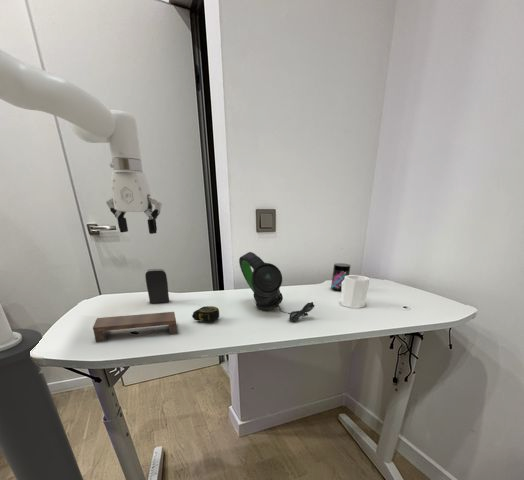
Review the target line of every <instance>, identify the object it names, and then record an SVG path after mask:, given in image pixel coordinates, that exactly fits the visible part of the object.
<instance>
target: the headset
mask: <svg viewBox="0 0 524 480" xmlns="http://www.w3.org/2000/svg"><path fill="white" fill-rule="evenodd" d="M238 265H239V268H240V271H241V273H242V276H243V277H244V279H245V282H246V283H247V285H248V286H249V288H250V290H251V291H252V292H253V295H252V296H253V299H254V302H255V306H256V308H257V309H258V310H260V311H269V310H272V309H274V308H275V309H277V308H278V309H279V312H280V313H283V314H287V315H289V317H288V321H290V322H297V321H298V320H299V319H300V318H303V317H308V316H309V314H308V313H309V312H311V311H312V310H313V309H314V308H315V304H314V302H313V301H311V302H307V303H306V304H305V305H304V306H303V307H302V309H300V310H294V311H291V312H287V311H283V310H281V307H280V304H281V303H282V302H283V300H284V296H283V294H282V292H281V290H280V288H281V286H282V284H283V274H282V272H281V270H280V269H279V267H277V266H276V265H274V264H273V263H270V262H264V260H263V259H262V258H261V257H260V256H258V255H257V254H256V253H255V252H252V251H249V252H248V251H247V253H245V254H243V255H242V256H240V257H239V258H238Z"/></svg>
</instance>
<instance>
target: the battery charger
mask: <svg viewBox="0 0 524 480" xmlns="http://www.w3.org/2000/svg"><path fill="white" fill-rule="evenodd" d="M144 279H145V286H146V290H147V295H148V301H149V302H148V303H149V304H162V303H169V302H170V294H169V283H168V275H167V272H166V270H164V269H162V268H152V269H151V268H149V269H147V270H145V273H144Z"/></svg>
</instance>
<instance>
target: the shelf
mask: <svg viewBox="0 0 524 480" xmlns="http://www.w3.org/2000/svg"><path fill="white" fill-rule="evenodd" d="M177 325H178V324H177V318H176V313H175V311H165V312H153V313H141V314H140V313H139V314H129V315H117V316H105V317H96V320H95V321H94V323H93V326H92V332H93V335H94V340H95V342H96V343H104V342H106V339H107V336H108V333H109V331H119V330H120V331H121V330H130V329H140V328H152V327H161V326H168V331H169V335H177V334H178V326H177Z"/></svg>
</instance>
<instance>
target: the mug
mask: <svg viewBox="0 0 524 480" xmlns="http://www.w3.org/2000/svg"><path fill="white" fill-rule="evenodd" d="M369 284H370V278H369V277H368V276H364V275H361V274H349V275H348V276H345V278H344V280H343V281H342V291H341V297H340V304H341V306H343V307H346V308H351V309H361V308H364V307H365V306H366V300H367V295H368V291H369Z"/></svg>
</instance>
